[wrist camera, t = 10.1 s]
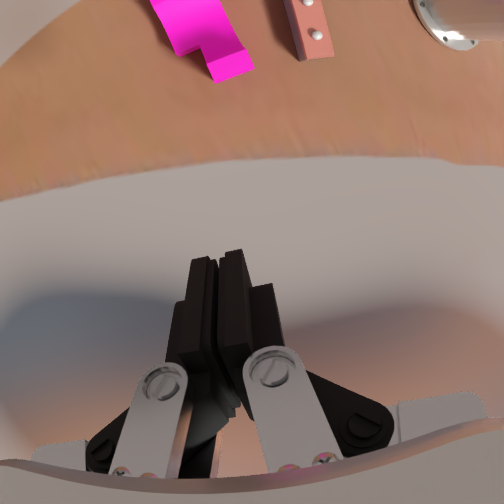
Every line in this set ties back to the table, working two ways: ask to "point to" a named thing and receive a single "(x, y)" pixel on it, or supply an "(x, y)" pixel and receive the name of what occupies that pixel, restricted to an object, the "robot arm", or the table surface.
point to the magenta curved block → (204, 35)
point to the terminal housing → (309, 29)
